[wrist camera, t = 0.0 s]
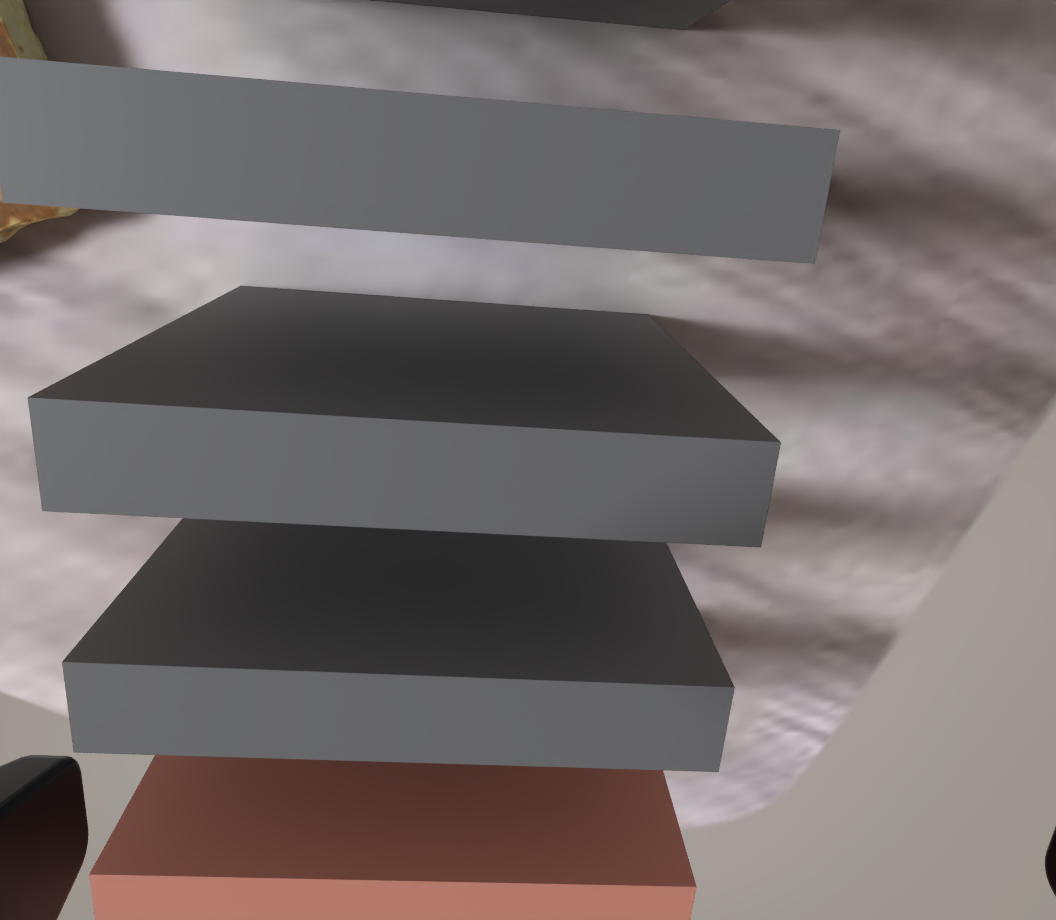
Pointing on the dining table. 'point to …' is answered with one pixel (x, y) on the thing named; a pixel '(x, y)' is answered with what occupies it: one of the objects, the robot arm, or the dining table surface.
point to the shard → (9, 34)
